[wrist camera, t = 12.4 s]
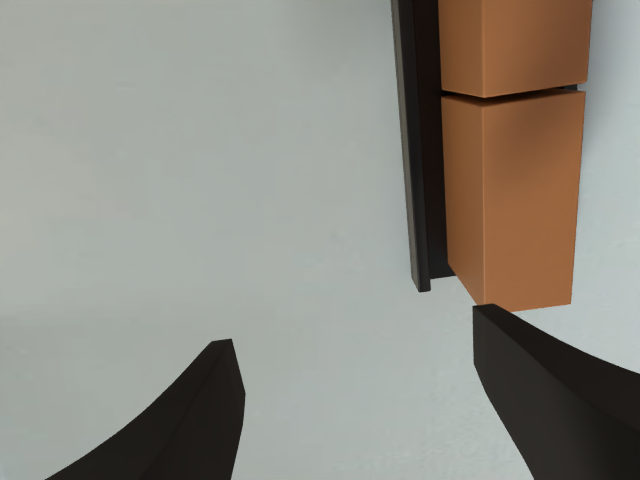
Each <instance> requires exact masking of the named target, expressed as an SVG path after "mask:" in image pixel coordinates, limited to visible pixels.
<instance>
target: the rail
mask: <svg viewBox="0 0 640 480" xmlns="http://www.w3.org/2000/svg"><path fill="white" fill-rule="evenodd" d="M391 11H392V24H393V37H394V50H395V63H396V77H397V90H398V103H399V116H400V129H401V143H402V156H403V169H404V182H405V195H406V208H407V222H408V235H409V248H410V261H411V274H412V280H413V281H414V283H415V285H416V288H417V290H418V292H427V291H430V290H431V285H430V279H436V278H443V277H450V276H457V275H456V274H455V272H454V271H453V270H452V268H451V267H450V265H449V264H448V249H447V226H446V202H445V178H444V155H443V131H442V107H441V97H442V96H447V95H454V94H461V93H457V92H452V91H447V90H443V89H442V82H441V58H440V34H439V10H438V0H391ZM554 88H557V89H567V90H577V84H574V85H567V86H560V87H554Z"/></svg>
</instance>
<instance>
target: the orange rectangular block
mask: <svg viewBox="0 0 640 480" xmlns="http://www.w3.org/2000/svg"><path fill="white" fill-rule="evenodd" d="M585 95H586V92H585V91H577V90H567V89H557V88H547V89H540V90H534V91H527V92H520V93H514V94H507V95H500V96H494V97H487V98H483V97H478V96H473V95H468V94H463V93H461V94H454V95H447V96H442V97H441V107H442V131H443V155H444V178H445V202H446V226H447V249H448V264H449V265H450V267H451V268H452V270H453V271H454V272H455V274H456V275H457V277H458V278H459V280H460V281H461V283H462V284H463V285H464V287H465V288H466V290H467V291H468V293H469V294H470V295H471V297H472V298H473V300H474V301H475V303H476V304H477V305H484V304H491V303H494V304H496V305H498V306H500V307H502V308H503V309H505V310H507V311H509V312H515V311H523V310H530V309H538V308H545V307H552V306H560V305H567V304H571V295H572V281H573V267H574V253H575V238H576V224H577V210H578V195H579V181H580V167H581V152H582V138H583V124H584V110H585Z"/></svg>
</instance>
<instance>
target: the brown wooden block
mask: <svg viewBox="0 0 640 480" xmlns="http://www.w3.org/2000/svg"><path fill="white" fill-rule="evenodd" d="M592 2H593V0H438V10H439V34H440V58H441V82H442V89H443V90H447V91H452V92H457V93H463V94H468V95H473V96H478V97H483V98H487V97H494V96H500V95H507V94H514V93H520V92H527V91H534V90H540V89H547V88H554V87H560V86H567V85H574V84H581V83H585V82H586V81H587V74H588V59H589V45H590V31H591V17H592Z"/></svg>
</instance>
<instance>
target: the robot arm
mask: <svg viewBox="0 0 640 480" xmlns="http://www.w3.org/2000/svg"><path fill="white" fill-rule="evenodd" d="M473 351H474V365H475V368H476V370H477V373H478V375H479V378H480V380H481V383H482V385H483V388H484V390H485V392H486V394H487V396H488V398H489V400H490V401H491V403H492V405H493V407H494V408H495V410H496V412H497V414H498V415H499V417H500V419H501V421H502V422H503V424H504V426H505V428H506V429H507V431H508V433H509V434H510V436H511V438H512V440H513V441H514V443H515V445H516V446H517V448H518V450H519V452H520V453H521V455H522V457H523V459H524V460H525V462H526V464H527V466H528V468H529V470H530V472H531V474H532V476H533V478H534V480H640V374H639V373H636V372H633V371H630V370H627V369H624V368H622V367H619V366H616V365H614V364H612V363H609V362H607V361H604V360H602V359H599V358H597V357H594V356H592V355H590V354H587V353H585V352H583V351H581V350H579V349H577V348H575V347H573V346H571V345H569V344H566V343H564V342H562V341H560V340H559V339H557V338H555V337H553V336H551V335H549V334H547V333H545V332H544V331H542V330H540V329H538V328H536V327H535V326H533V325H531V324H529V323H528V322H526V321H524V320H522V319H521V318H519V317H517V316H516V315H514V314H512V313H510V312H509V311H507V310H505V309H503V308H502V307H500V306H498V305H496V304H494V303H491V304H484V305H477V306H473ZM245 394H246V393H245V389H244V385H243V381H242V378H241V374H240V370H239V366H238V362H237V358H236V354H235V350H234V346H233V342H232V339H225V340H217V341H212V342H211V343H210V344H209V345H208V346H207V347H206V348H205V349H204V350H203V351H202V352H201V353H200V354H199V355H198V356H197V358H196V359H195V360H194V361H193V362H192V363H191V364H190V365H189V366H188V367H187V368H186V370H185V371H184V372H183V373H182V374H181V375H180V376H179V377H178V378H177V379H176V380H175V381H174V382H173V383H172V384H171V385H170V386H169V387H168V388H167V389H166V390H165V391H164V392H163V393H162V394H161V395H160V396H159V397H158V398H157V399H156V400H155V401H154V402H153V403H152V404H151V405H150V406H149V407H147V408H146V409H145V410H144V411H143V412H142V413H141V414H140V415H138V416H137V417H136V418H135V419H134V420H132V421H131V422H130V423H129V424H127V425H126V426H125V427H124V428H122V429H121V430H120V431H119V432H117V433H116V434H115V435H113V436H112V437H110V438H109V439H108V440H106V441H105V442H103V443H102V444H100V445H99V446H98V447H96V448H95V449H93V450H92V451H91V452H89V453H88V454H86V455H85V456H83V457H82V458H80V459H78V460H77V461H75V462H74V463H72V464H71V465H69V466H67V467H66V468H64V469H62V470H61V471H59V472H57V473H56V474H54V475H52V476H51V477H49V478H47V479H45V480H231V476H232V472H233V467H234V463H235V458H236V454H237V450H238V445H239V440H240V436H241V431H242V426H243V418H244V407H245Z"/></svg>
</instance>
